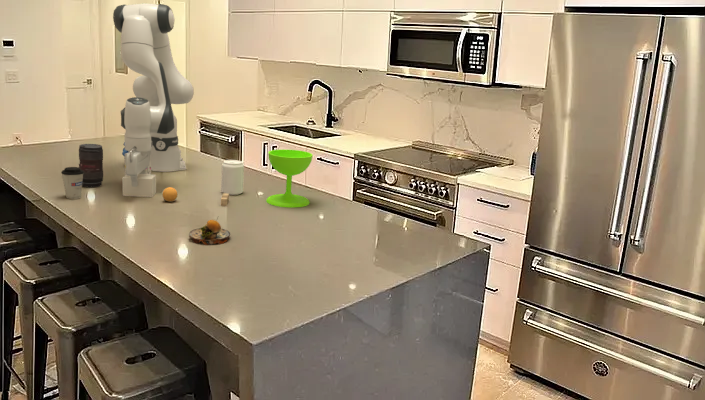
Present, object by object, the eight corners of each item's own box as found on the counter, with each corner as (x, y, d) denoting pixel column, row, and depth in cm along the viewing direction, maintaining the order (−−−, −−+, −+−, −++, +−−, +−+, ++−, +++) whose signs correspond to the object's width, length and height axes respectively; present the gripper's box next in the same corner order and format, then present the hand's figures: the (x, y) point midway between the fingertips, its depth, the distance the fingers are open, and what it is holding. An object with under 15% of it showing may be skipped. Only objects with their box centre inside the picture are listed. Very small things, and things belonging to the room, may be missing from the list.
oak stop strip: (223, 200, 215) (223, 193, 214) (228, 200, 215) (228, 193, 215) (220, 205, 207) (221, 199, 207) (226, 206, 208) (226, 199, 207)
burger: (213, 230, 182) (214, 206, 180) (238, 240, 175) (239, 216, 173) (179, 238, 173) (180, 213, 171) (205, 249, 166) (205, 223, 164)
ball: (163, 199, 210) (163, 185, 209) (178, 199, 211) (178, 186, 209) (161, 202, 205) (161, 188, 204) (176, 203, 206) (176, 189, 205)
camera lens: (87, 189, 215) (86, 148, 211) (75, 184, 220) (74, 144, 216) (108, 186, 221) (107, 146, 218) (96, 182, 226) (95, 142, 222)
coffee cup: (57, 197, 202) (56, 168, 200) (75, 193, 209) (74, 165, 206) (71, 200, 199) (70, 171, 197) (89, 197, 205) (88, 168, 203)
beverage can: (238, 196, 221) (239, 164, 218) (217, 193, 223) (218, 162, 220) (246, 191, 229) (247, 161, 226) (226, 189, 230) (227, 158, 227)
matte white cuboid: (127, 191, 217) (127, 173, 215) (156, 192, 218) (155, 174, 216) (122, 195, 210) (122, 177, 209) (152, 197, 211) (151, 178, 210)
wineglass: (283, 193, 230) (286, 147, 226) (318, 202, 223) (321, 154, 218) (257, 201, 217) (258, 152, 213) (292, 210, 209) (295, 159, 205)
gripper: (140, 150, 200) (140, 190, 203) (153, 141, 220) (153, 177, 223) (120, 149, 199) (121, 189, 202) (135, 140, 219) (136, 176, 222)
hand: (138, 183), depth 213 cm, fingers open, 8 cm apart
